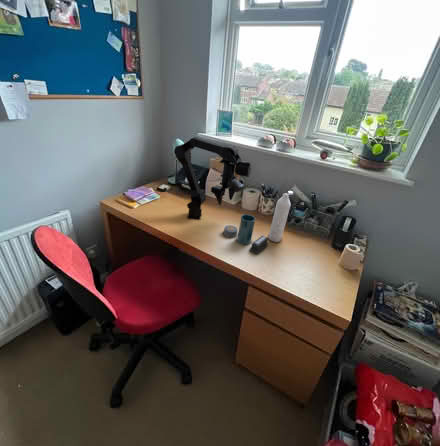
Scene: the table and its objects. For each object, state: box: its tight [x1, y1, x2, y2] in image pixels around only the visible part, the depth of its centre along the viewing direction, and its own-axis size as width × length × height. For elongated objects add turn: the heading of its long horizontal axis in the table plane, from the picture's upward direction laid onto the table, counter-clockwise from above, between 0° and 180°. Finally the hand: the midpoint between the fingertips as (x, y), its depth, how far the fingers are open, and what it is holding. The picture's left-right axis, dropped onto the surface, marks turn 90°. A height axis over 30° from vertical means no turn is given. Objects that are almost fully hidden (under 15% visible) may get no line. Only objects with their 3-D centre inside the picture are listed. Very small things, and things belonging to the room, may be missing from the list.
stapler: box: [249, 235, 269, 255], centre depth 116 cm, size 10×4×4 cm, turn 142°
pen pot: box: [236, 213, 256, 245], centre depth 118 cm, size 7×7×13 cm
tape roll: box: [223, 224, 238, 238], centre depth 125 cm, size 7×7×3 cm
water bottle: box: [267, 190, 294, 243], centre depth 120 cm, size 9×6×25 cm
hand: (225, 202), depth 127 cm, fingers open, 9 cm apart
